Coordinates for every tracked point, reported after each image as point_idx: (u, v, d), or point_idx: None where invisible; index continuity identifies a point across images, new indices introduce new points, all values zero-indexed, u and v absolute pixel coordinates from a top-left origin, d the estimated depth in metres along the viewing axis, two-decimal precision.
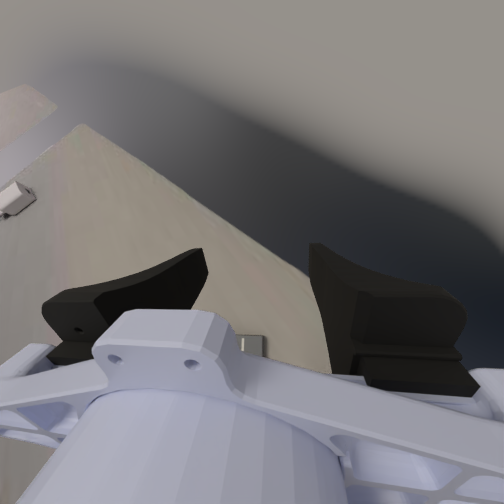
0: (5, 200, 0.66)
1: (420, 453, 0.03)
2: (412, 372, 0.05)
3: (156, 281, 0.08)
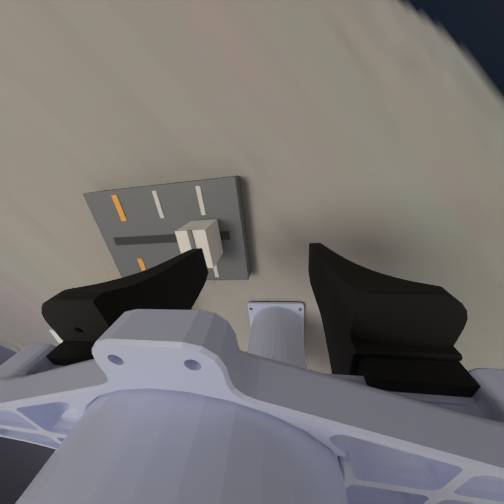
0: None
1: (420, 453, 0.03)
2: (412, 372, 0.05)
3: (156, 281, 0.08)
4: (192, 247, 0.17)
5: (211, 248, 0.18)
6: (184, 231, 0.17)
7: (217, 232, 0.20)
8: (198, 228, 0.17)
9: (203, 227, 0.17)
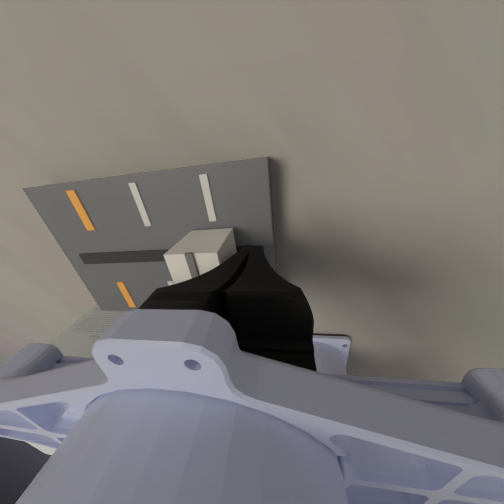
0: None
1: (420, 453, 0.03)
2: None
3: (233, 280, 0.08)
4: None
5: None
6: (180, 255, 0.10)
7: (233, 249, 0.12)
8: (204, 248, 0.10)
9: (213, 246, 0.10)
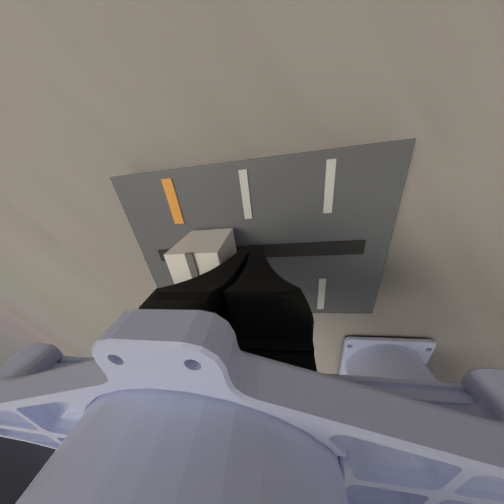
0: None
1: (420, 453, 0.03)
2: None
3: (233, 280, 0.08)
4: None
5: None
6: (180, 255, 0.10)
7: (233, 249, 0.12)
8: (205, 248, 0.10)
9: (213, 246, 0.10)
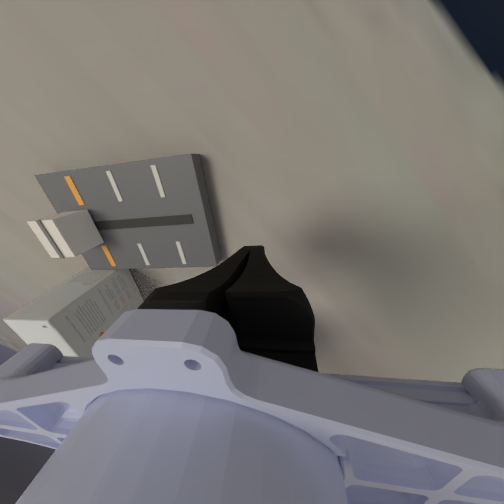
0: None
1: (420, 453, 0.03)
2: None
3: (232, 280, 0.08)
4: (47, 237, 0.18)
5: (69, 238, 0.19)
6: (35, 221, 0.18)
7: (87, 222, 0.20)
8: (50, 218, 0.18)
9: (56, 217, 0.18)
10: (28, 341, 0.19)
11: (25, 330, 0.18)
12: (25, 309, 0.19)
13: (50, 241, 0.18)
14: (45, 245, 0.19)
